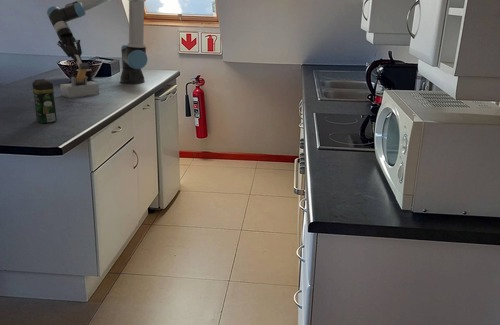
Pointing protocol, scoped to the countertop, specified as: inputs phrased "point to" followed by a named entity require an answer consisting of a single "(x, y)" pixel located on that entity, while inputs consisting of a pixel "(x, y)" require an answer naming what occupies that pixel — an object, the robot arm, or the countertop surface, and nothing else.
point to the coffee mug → (88, 74)
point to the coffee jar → (44, 101)
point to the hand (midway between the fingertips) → (80, 65)
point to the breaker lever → (81, 73)
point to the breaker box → (79, 88)
